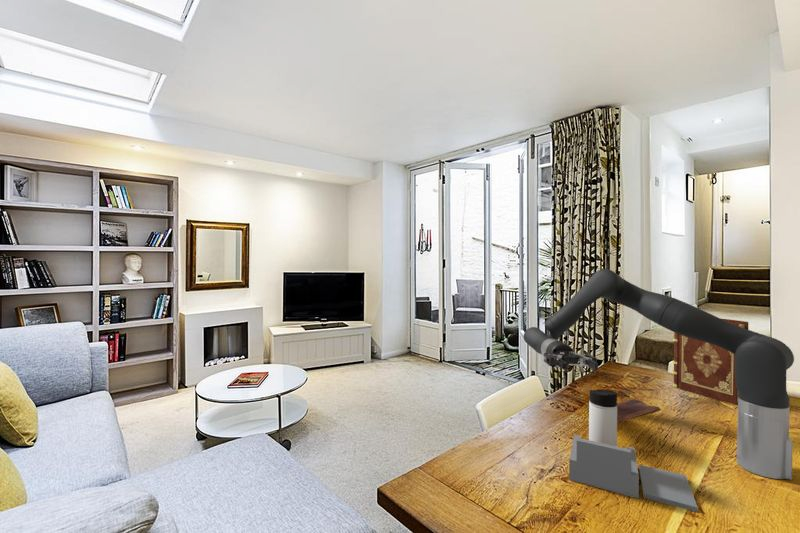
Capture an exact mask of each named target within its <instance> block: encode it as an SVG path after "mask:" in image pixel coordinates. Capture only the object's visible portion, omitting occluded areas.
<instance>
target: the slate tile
mask: <svg viewBox="0 0 800 533" xmlns="http://www.w3.org/2000/svg"><path fill="white" fill-rule="evenodd" d="M638 470H639V471H638V473H639V477H640V478H639V479H640V482H641V483H640V484H641V490H642V497H643V498H644V499H647V500H650V501H651V500H652V501H655V502H659V503H662V504H665V505H669V506H673V507H677V508H681V509H684V510H688V511H691V512H695V513H699V512H698V510H699V509H698V508H699V507H698V505H697V501H696V500H695V496H694V494H693V492H692V491H693V490H692V488H691V486H690V482H689V480H688V476H687V475H686V474H681V473H676V472H672V471H669V470H664V469H659V468H656V467H652V466H647V465H643V464H638Z"/></svg>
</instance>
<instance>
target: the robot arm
mask: <svg viewBox="0 0 800 533" xmlns="http://www.w3.org/2000/svg"><path fill="white" fill-rule="evenodd" d="M583 284H584V285H582V287H581V288H580V289H578V291H577V292H576V293H575V294H574V295H573V296H572V297H571V299H570V300H569V301H567V302H566V303H565V304H564V305H563V306H562V307H561V308H559V309H558V310H557V311H556V312H554V313H553V314H552V315H551V316H549V318H547V319H546V320H545V322H544V327H545V329H546V330H547V331H548V332H549V334H546V332H544V331H542V330H541V329H540V328H538V327H536V326H532V327H528V328H527V329H526V330H525V331H524V333H523V340H524V342H525V343H526V344H527V345H528V346H529V347H530V348H532V350H534V351H535V352H536V353H537V354H540V355H542V356H543V362H545V363H546V365H548V366H549V367H554V366H555V367H556V368H560V369H562V370H563V371H568V369H569V368H568V367H569V366H575V367H588V368H589V369H591V370H593V371H598V369H599V363H598V362H597V361H598V358H597V357H596V356H593V355H591V354H589V353H587V352H583V354H581V353H576V352H575V351H574V349H573V347H571V346H570V345H568V344H566V343H565V342H563V341H561V340H559V338H560V337H561V336H562V335H563V334H564V333H565V332H566V331H568V330H569V329H570V328H572V327H573V326H574V325H575V324H576V323H577V322H578V320H580V318H581V317H582V315H583V313H584V312H585V311H586V310H587V309H588V308H589V307H590V306H591V305H592V304H593V303H595V301H598V300H599V299H601V298H602V299H605V300H608V301H611V302H613V303H617V304H620V305H622V306H625V307H627V308H629V309H632V310H633V311H635V312H637V313H639V314H640V315H641V316H643V317H645V319H648V320H649V321H651V322H653V323H655V324H657V325H659V326H661V327H662V328H664V329H667V330H668V331H671V332H673V333H674V332H675V333H677V334H680V335H683V336H686V337H689V338H692V339H696V340H699V341H703V342H707V343H710V344H713V345H716V346H719V347H721V348H723V349H725V350H727V351H729V352H731V353H733V354H735V383H736V387H737V390H738V400H737V403H738V405H737V418H736V419H737V424H736V425H737V428H736V429H737V431H736V432H737V433H736V434H737V435H736V463H737V464H738V466H740V467H741V468H743V469H744V470H746V471H748V472H750V473H752V474H755V475H758V476H761V477H764V478H769V479H774V480H776V479H777V480H783V479H785V480H790V481H791V480H792V479H793V446H794V445H793V440H792V439H791V438H790V403H791V401H790V396H789V394H788V391H787V370H788V369H791V367H793V364H794V362H795V355H794V353H793V351H792V349H791V348H790V347H789V346H787V344H786V343H784V342H783V341H781V340H779V339H777V338H775V337H771V336H769V335H766V334H762V333H759V332H756V331H753V330H750V329H748V330H747V329H744V328H742V327H739V326H736V325H733V324H731V323H728V322H726V321H724V320H722V319H723V318H721V319H720V317H718V316H716V315H714V314H711V313H710V312H708V311H705V310H703V309H701V308H698V307H697V306H694V305H691V304H690V303H687V302H684V301H682V300H680V299H677V298H675V297H672V296H669V295H667V294H666V295H665V294H663V293H658V292H653V291H650V290H647V289H643V288H641V287H639V286H637V285H635V284H633V283H631V282H630V281H628V280H626V279H624V278H623V276H622V277H621V276H620V275H619V274H617V273H616V272H615V271H613V270H611V269H609V268H603V269H599V270H597V271H595V272H594V273H593V274H592V275H591V276H590V277H589V278H588V279H587V280H586V282H585V283H583ZM579 362H580V363H579Z"/></svg>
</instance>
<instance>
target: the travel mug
mask: <svg viewBox="0 0 800 533" xmlns="http://www.w3.org/2000/svg"><path fill="white" fill-rule="evenodd" d="M617 403H618V392H616V391H614V390H611V389H610V390H609V389H603V388H602V389H601V388H597V389H594V390H593V389H589V401H588V440H590V441H594V442H599V443H603V444H608V445H612V446H617V447H618V422H617Z"/></svg>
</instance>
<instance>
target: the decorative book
mask: <svg viewBox="0 0 800 533" xmlns="http://www.w3.org/2000/svg"><path fill="white" fill-rule="evenodd" d="M719 318H720V317H719ZM720 319H722V320H724V321H726V322H728V323H731V324H733V325H736V326H739V327H742V328H744V329H747V330H749V321H744V320H737V319H728V318H720ZM673 335H674V336H673V338H672V341H673V359H672V364H673V369H672V374H673V382H672V387H673V388H676V389H680V390H683V391H686V392H690V393H693V394H696V395H700V396H703V397H707V398H711V399H714V400H717V401H721V402H724V403H728V404H732V405H734V406H735V405H736V406H738V390H737V387H736V383H735V354H733V353H731V352H729V351H727V350H725V349H723V348H721V347H719V346H716V345H713V344H710V343H707V342H703V341H699V340H696V339H692V338H689V337H686V336H683V335H680V334H677V333H675V332H673Z"/></svg>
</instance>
